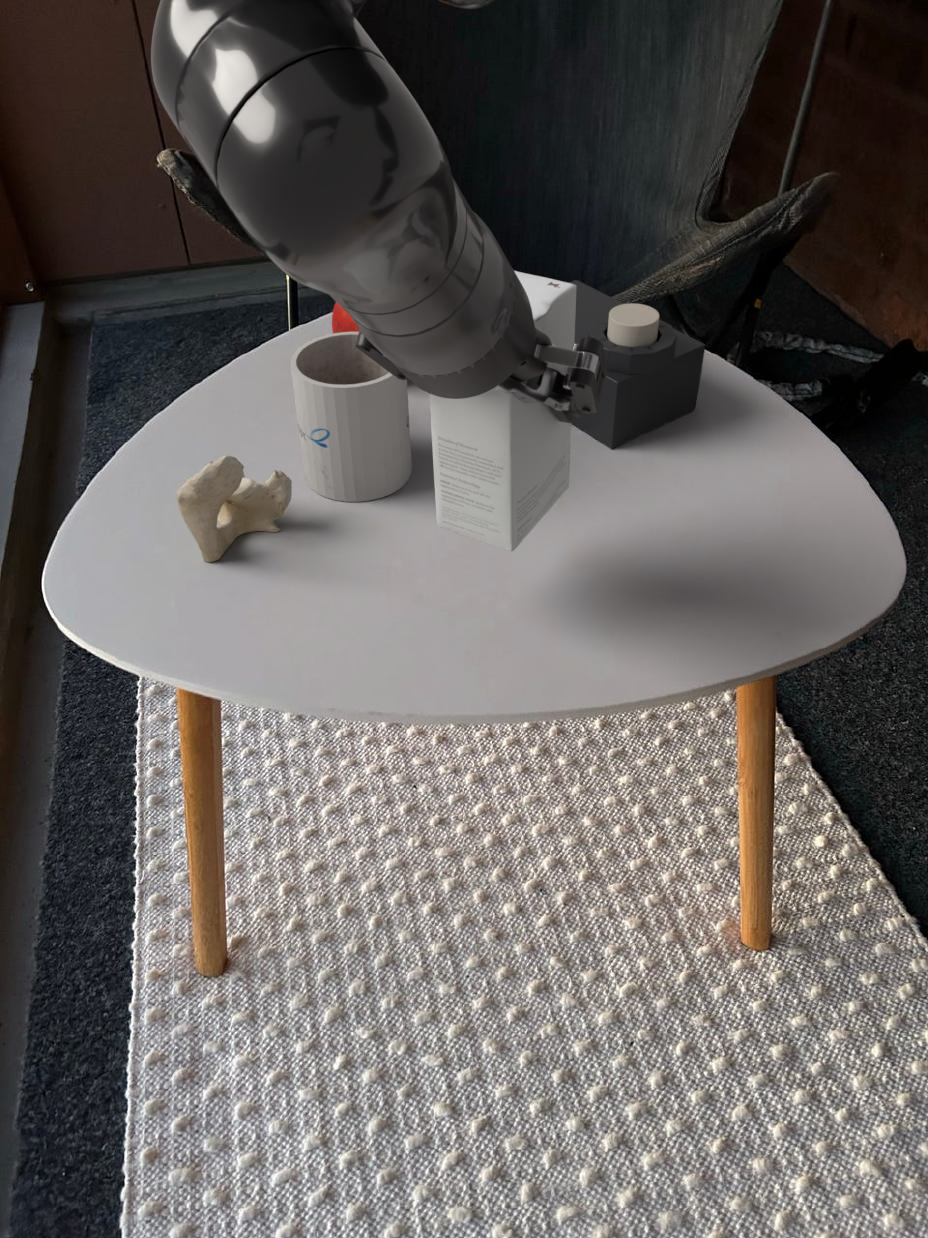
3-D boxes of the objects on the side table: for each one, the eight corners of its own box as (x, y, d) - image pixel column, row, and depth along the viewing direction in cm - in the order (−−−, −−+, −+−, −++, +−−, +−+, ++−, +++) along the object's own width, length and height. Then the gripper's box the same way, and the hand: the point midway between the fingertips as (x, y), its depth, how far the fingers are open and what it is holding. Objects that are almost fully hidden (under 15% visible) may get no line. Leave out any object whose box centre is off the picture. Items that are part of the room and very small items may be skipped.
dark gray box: (701, 412, 94) (714, 326, 88) (616, 452, 89) (625, 364, 84) (572, 341, 104) (577, 260, 98) (490, 374, 99) (490, 291, 94)
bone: (264, 466, 85) (271, 401, 76) (303, 534, 84) (315, 477, 75) (163, 509, 82) (157, 446, 73) (201, 580, 81) (201, 525, 72)
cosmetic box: (496, 469, 75) (491, 260, 66) (574, 491, 73) (581, 277, 63) (432, 532, 70) (417, 315, 60) (514, 558, 67) (512, 336, 58)
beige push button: (667, 339, 88) (670, 315, 86) (631, 354, 86) (633, 330, 84) (632, 321, 90) (634, 298, 89) (596, 336, 88) (598, 312, 87)
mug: (421, 493, 85) (415, 379, 79) (311, 508, 84) (296, 394, 77) (393, 413, 94) (386, 305, 88) (294, 426, 93) (279, 317, 86)
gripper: (601, 241, 50) (642, 357, 66) (322, 204, 54) (425, 322, 70) (561, 398, 50) (613, 477, 66) (285, 349, 54) (396, 434, 70)
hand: (516, 397), depth 68 cm, fingers closed on cosmetic box, 6 cm apart
